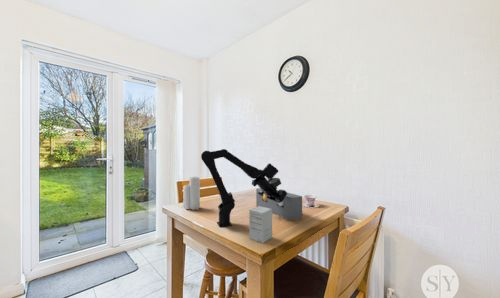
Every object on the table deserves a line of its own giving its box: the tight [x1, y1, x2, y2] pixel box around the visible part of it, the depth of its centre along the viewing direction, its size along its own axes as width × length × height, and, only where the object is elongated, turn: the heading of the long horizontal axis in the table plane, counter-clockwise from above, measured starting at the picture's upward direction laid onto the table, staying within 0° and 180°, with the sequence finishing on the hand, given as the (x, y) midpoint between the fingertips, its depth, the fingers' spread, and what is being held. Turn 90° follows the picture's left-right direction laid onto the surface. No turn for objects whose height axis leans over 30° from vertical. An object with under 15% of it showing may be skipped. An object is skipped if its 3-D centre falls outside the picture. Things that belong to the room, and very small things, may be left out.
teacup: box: [302, 194, 321, 209], centre depth 143 cm, size 12×12×6 cm
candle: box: [182, 176, 201, 211], centre depth 138 cm, size 11×7×20 cm, turn 81°
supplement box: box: [248, 206, 273, 244], centre depth 93 cm, size 7×7×13 cm
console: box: [255, 187, 303, 221], centre depth 129 cm, size 8×32×12 cm, turn 35°
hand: (280, 202), depth 121 cm, fingers closed, pressing on cream button
